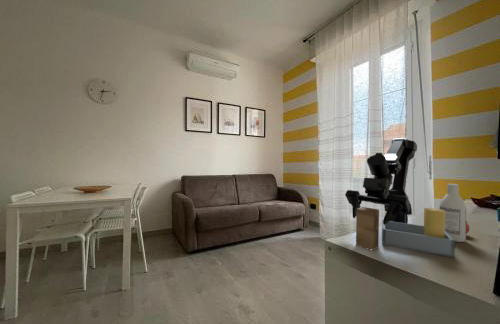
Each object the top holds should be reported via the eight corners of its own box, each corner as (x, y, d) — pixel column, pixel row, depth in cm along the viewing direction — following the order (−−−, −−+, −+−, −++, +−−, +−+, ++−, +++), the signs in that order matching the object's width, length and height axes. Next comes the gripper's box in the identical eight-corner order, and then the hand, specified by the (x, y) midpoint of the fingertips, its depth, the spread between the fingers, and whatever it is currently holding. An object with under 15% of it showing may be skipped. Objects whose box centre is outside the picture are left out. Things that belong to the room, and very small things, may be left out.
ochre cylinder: (435, 251, 63) (435, 211, 63) (419, 244, 68) (420, 208, 68) (449, 250, 64) (449, 211, 64) (432, 244, 68) (433, 208, 68)
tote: (382, 244, 69) (382, 229, 69) (381, 232, 81) (382, 220, 81) (454, 257, 60) (454, 240, 60) (442, 242, 72) (442, 228, 72)
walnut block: (362, 241, 71) (362, 206, 71) (378, 246, 68) (379, 209, 68) (355, 245, 68) (356, 208, 68) (372, 250, 64) (373, 211, 64)
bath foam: (450, 235, 79) (451, 183, 79) (471, 242, 72) (472, 185, 72) (433, 235, 79) (434, 183, 79) (453, 242, 72) (454, 185, 72)
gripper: (347, 168, 79) (332, 200, 71) (408, 170, 64) (396, 210, 57) (356, 188, 84) (342, 219, 77) (414, 194, 69) (404, 233, 62)
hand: (367, 220), depth 68 cm, fingers open, 9 cm apart
